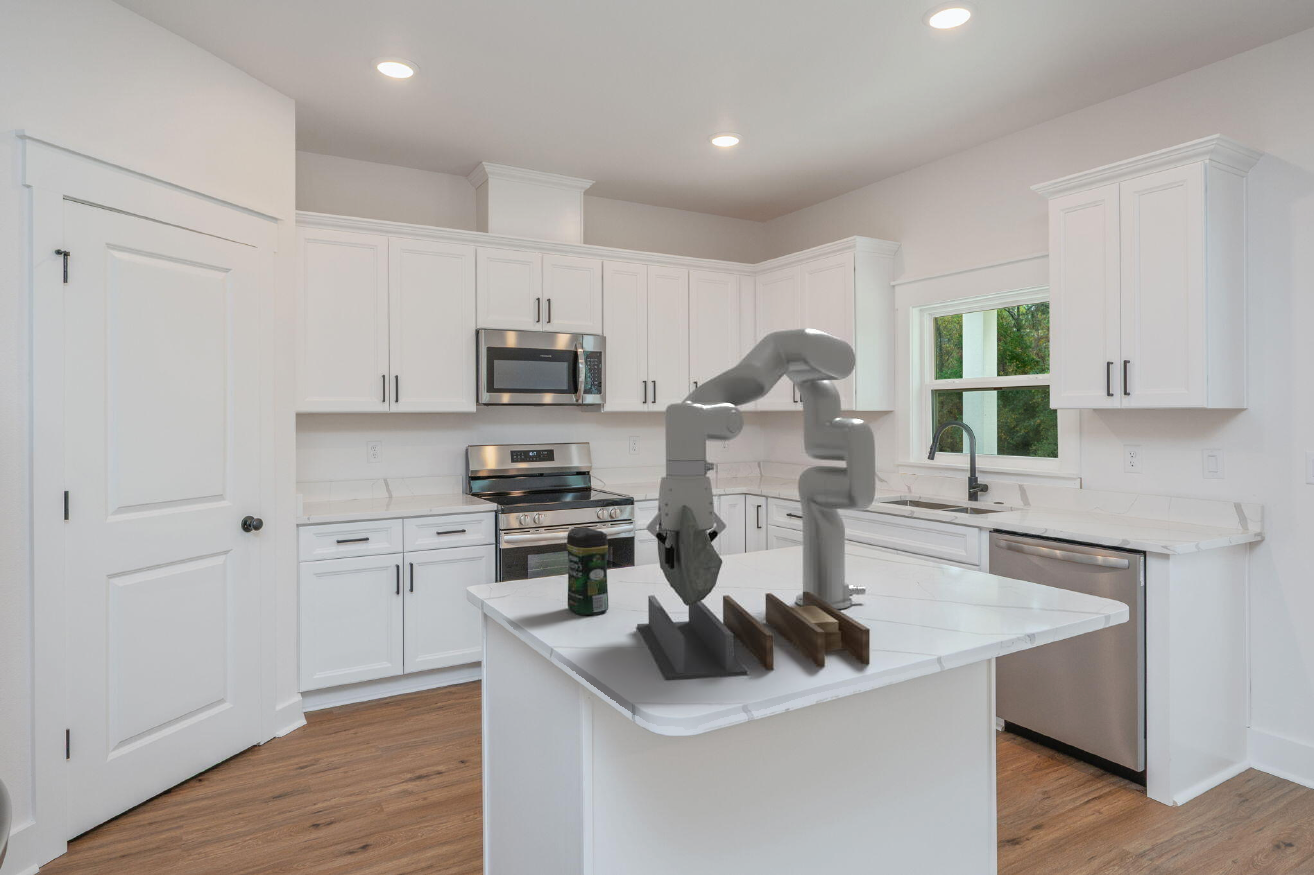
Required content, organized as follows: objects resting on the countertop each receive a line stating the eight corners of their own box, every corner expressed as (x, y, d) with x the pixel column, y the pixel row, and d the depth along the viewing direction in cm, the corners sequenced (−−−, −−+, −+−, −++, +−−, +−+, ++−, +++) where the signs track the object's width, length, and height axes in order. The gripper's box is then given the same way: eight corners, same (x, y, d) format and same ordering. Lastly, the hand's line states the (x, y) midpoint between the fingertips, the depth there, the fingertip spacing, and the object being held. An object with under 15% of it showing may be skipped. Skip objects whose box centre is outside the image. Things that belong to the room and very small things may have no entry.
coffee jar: (562, 608, 170) (561, 527, 169) (593, 604, 174) (592, 524, 174) (581, 618, 162) (580, 532, 161) (613, 613, 166) (613, 529, 165)
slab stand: (703, 623, 157) (703, 591, 157) (747, 674, 125) (747, 635, 125) (637, 626, 155) (637, 595, 154) (665, 680, 123) (665, 640, 123)
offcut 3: (810, 635, 151) (810, 625, 151) (841, 652, 139) (841, 642, 139) (788, 637, 149) (788, 627, 149) (817, 655, 138) (817, 644, 138)
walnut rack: (808, 619, 159) (808, 591, 159) (869, 663, 131) (869, 629, 131) (723, 624, 156) (722, 595, 156) (766, 670, 128) (766, 635, 127)
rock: (730, 622, 128) (725, 505, 127) (696, 627, 126) (690, 508, 125) (679, 588, 154) (675, 491, 153) (650, 592, 152) (645, 493, 151)
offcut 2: (811, 625, 151) (811, 615, 151) (841, 642, 139) (841, 631, 139) (788, 627, 149) (788, 617, 149) (816, 644, 138) (816, 633, 138)
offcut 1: (815, 615, 150) (815, 605, 150) (838, 632, 138) (838, 621, 138) (791, 616, 149) (791, 606, 149) (812, 633, 138) (812, 622, 138)
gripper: (725, 467, 144) (726, 561, 145) (637, 469, 141) (638, 565, 142) (736, 470, 137) (736, 569, 137) (643, 472, 134) (644, 573, 135)
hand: (686, 566), depth 140 cm, fingers closed on rock, 5 cm apart
